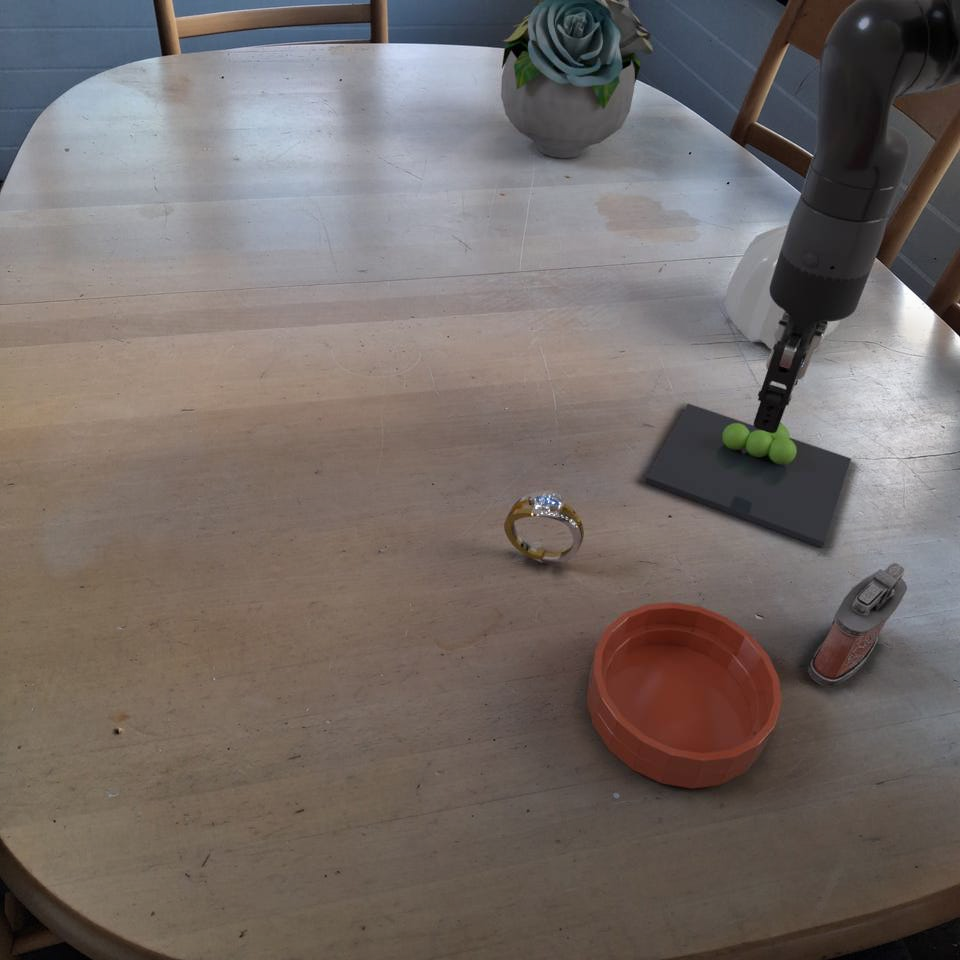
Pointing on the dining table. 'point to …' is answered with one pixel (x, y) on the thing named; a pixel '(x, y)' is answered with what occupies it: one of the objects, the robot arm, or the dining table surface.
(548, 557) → the ring
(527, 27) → the flower arrangement
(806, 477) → the slate board
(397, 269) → the dining table surface
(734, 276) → the vase
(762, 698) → the bowl
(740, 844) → the dining table surface
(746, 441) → the grapes
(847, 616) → the lighter
